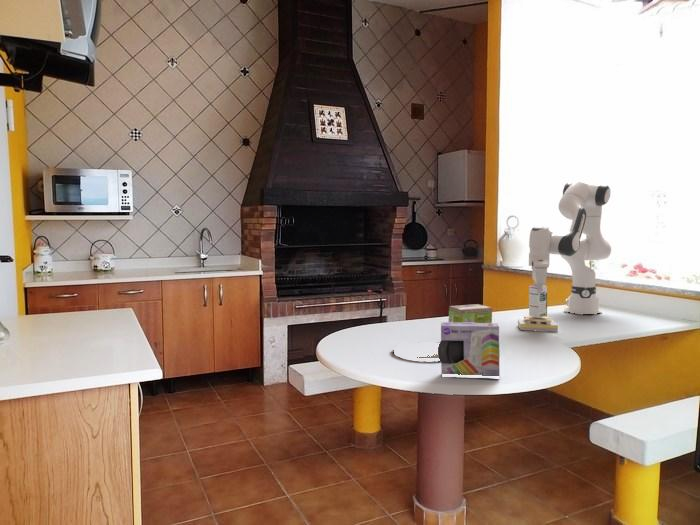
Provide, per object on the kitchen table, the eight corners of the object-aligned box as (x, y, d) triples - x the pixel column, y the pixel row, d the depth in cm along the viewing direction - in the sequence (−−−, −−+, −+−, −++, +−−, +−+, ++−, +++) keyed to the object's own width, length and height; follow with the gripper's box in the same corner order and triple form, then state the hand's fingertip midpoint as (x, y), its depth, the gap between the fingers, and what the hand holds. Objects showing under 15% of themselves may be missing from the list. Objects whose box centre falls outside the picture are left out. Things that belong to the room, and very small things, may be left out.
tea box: (461, 346, 212) (462, 309, 210) (447, 340, 221) (447, 305, 220) (492, 342, 218) (492, 306, 217) (476, 337, 227) (477, 303, 226)
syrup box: (539, 318, 239) (539, 286, 238) (528, 316, 244) (528, 284, 243) (547, 316, 242) (547, 285, 241) (536, 314, 247) (537, 283, 246)
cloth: (523, 319, 249) (524, 315, 249) (548, 320, 246) (548, 316, 246) (525, 323, 240) (525, 319, 240) (551, 324, 238) (551, 320, 238)
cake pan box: (437, 377, 170) (438, 323, 169) (438, 373, 175) (438, 320, 174) (499, 381, 166) (500, 325, 165) (498, 376, 171) (499, 322, 170)
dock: (517, 325, 251) (518, 318, 251) (553, 326, 248) (553, 320, 247) (520, 330, 239) (520, 323, 239) (557, 332, 236) (557, 325, 236)
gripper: (529, 259, 252) (528, 288, 253) (534, 264, 232) (533, 295, 233) (543, 260, 250) (542, 289, 252) (549, 264, 230) (548, 295, 232)
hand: (538, 292), depth 242 cm, fingers closed on syrup box, 7 cm apart
